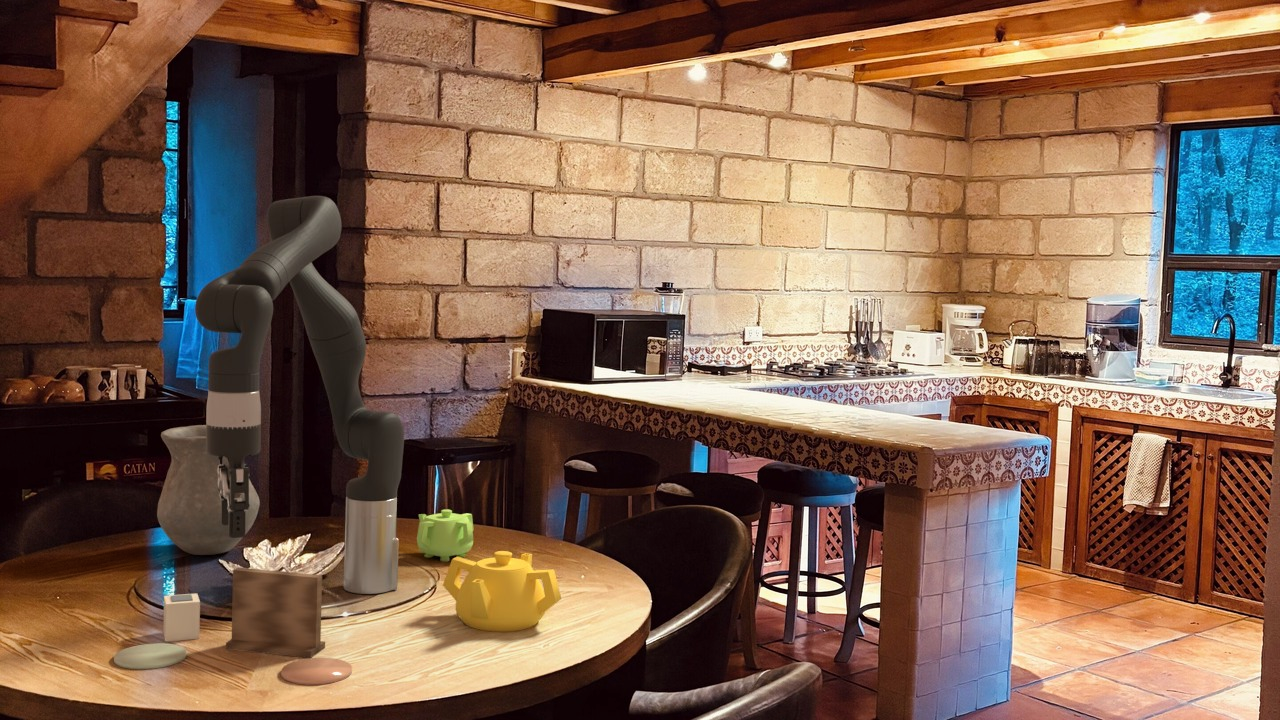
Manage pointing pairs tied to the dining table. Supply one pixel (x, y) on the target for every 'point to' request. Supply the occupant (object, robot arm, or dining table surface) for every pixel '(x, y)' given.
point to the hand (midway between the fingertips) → (232, 530)
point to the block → (181, 617)
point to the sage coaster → (150, 656)
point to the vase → (196, 496)
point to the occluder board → (276, 612)
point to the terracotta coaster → (316, 671)
